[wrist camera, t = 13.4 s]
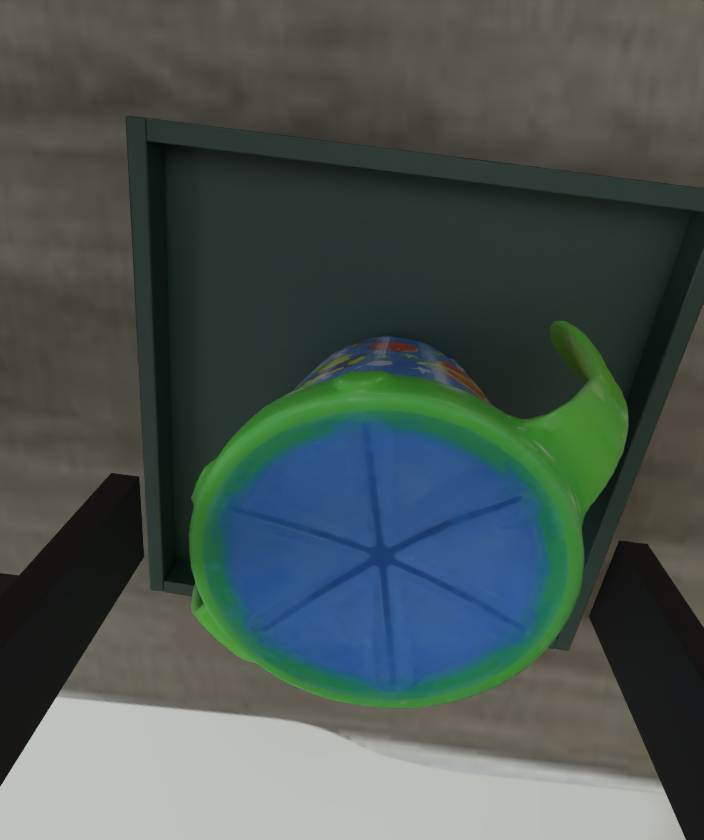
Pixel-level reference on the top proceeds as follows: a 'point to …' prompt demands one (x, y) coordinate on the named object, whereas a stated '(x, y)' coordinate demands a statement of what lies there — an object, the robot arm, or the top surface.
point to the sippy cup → (402, 525)
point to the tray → (389, 292)
